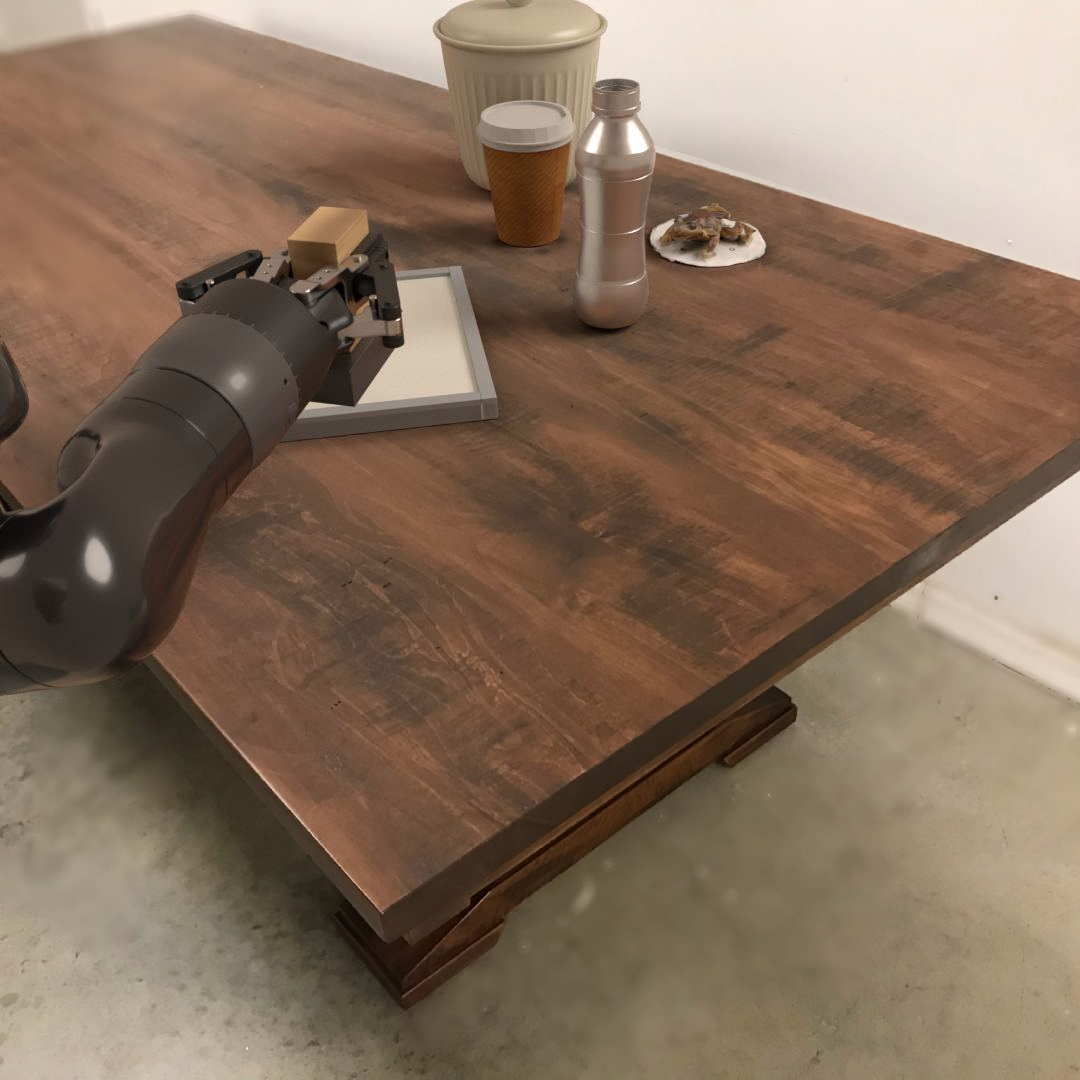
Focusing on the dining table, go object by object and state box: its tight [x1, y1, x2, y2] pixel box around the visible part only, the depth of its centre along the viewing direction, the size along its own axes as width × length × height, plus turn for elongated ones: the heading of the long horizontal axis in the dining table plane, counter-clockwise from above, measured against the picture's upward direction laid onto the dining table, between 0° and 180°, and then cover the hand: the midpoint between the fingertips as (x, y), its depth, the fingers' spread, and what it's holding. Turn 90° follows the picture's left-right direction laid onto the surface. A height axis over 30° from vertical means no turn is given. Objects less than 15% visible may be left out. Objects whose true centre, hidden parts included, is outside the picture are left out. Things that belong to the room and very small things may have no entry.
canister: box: [432, 0, 609, 192], centre depth 117 cm, size 18×18×21 cm
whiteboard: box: [279, 265, 499, 443], centre depth 92 cm, size 20×24×2 cm
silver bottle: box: [571, 77, 657, 329], centre depth 91 cm, size 6×7×20 cm
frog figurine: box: [649, 203, 767, 268], centre depth 108 cm, size 12×12×4 cm
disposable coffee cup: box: [476, 100, 576, 248], centre depth 108 cm, size 10×10×12 cm
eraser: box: [286, 205, 395, 407], centre depth 67 cm, size 4×9×10 cm, turn 167°
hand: (350, 244), depth 68 cm, fingers closed on eraser, 3 cm apart
